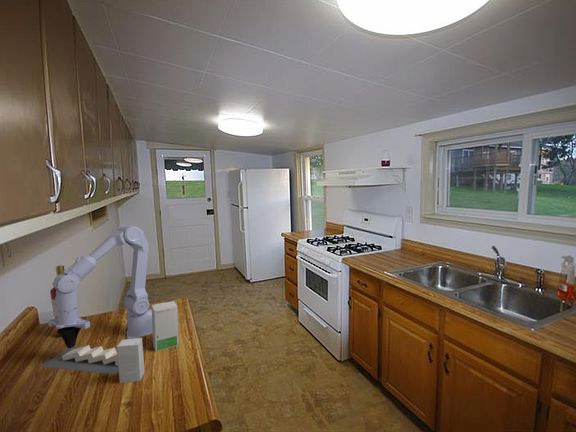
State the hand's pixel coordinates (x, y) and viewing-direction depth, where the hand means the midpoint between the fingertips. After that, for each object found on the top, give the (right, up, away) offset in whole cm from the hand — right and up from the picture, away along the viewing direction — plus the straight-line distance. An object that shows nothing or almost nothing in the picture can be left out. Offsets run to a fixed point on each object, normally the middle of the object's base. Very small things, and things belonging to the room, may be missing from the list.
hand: (71, 346), depth 100 cm
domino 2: (+4, -3, 0) cm, 5 cm away
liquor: (-16, -3, +18) cm, 24 cm away
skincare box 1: (+27, -5, -11) cm, 29 cm away
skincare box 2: (+29, -4, +8) cm, 31 cm away
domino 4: (+14, -3, -2) cm, 14 cm away
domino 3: (+8, -3, -1) cm, 9 cm away
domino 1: (-1, -3, +1) cm, 3 cm away
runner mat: (+8, -4, -1) cm, 9 cm away
